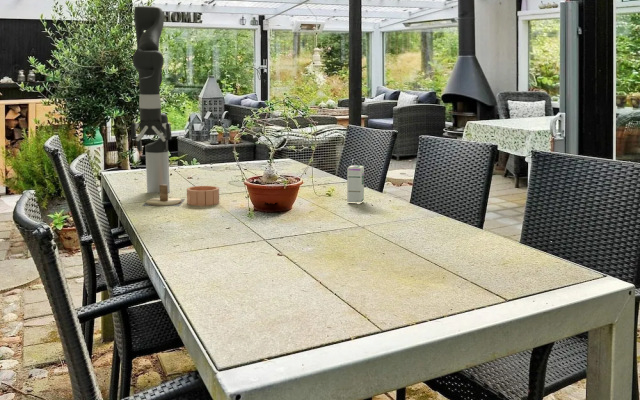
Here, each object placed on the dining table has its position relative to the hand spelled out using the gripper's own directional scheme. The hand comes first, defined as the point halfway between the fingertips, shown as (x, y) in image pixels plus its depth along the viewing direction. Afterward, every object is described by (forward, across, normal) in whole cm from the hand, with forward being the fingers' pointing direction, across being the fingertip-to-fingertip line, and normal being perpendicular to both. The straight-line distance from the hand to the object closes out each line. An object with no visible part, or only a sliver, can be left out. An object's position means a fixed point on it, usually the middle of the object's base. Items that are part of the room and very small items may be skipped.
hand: (152, 151), depth 238 cm
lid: (+21, -2, -6) cm, 21 cm away
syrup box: (+21, -76, -8) cm, 80 cm away
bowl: (+21, -18, -6) cm, 28 cm away
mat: (+21, -2, -6) cm, 22 cm away
